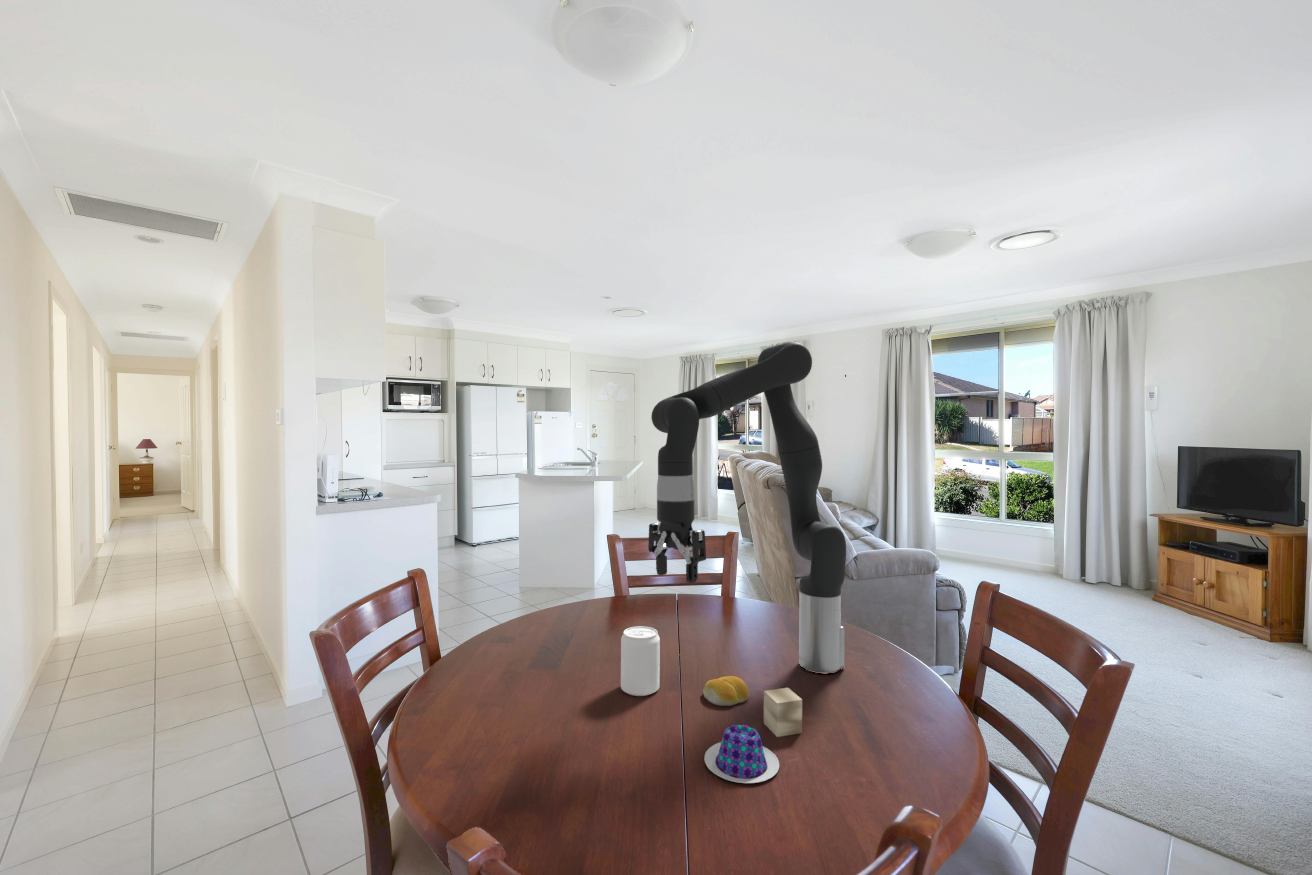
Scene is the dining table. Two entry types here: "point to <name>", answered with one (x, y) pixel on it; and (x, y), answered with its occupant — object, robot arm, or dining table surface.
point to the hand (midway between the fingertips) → (676, 578)
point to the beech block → (783, 712)
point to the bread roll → (726, 691)
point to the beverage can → (640, 661)
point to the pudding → (741, 756)
